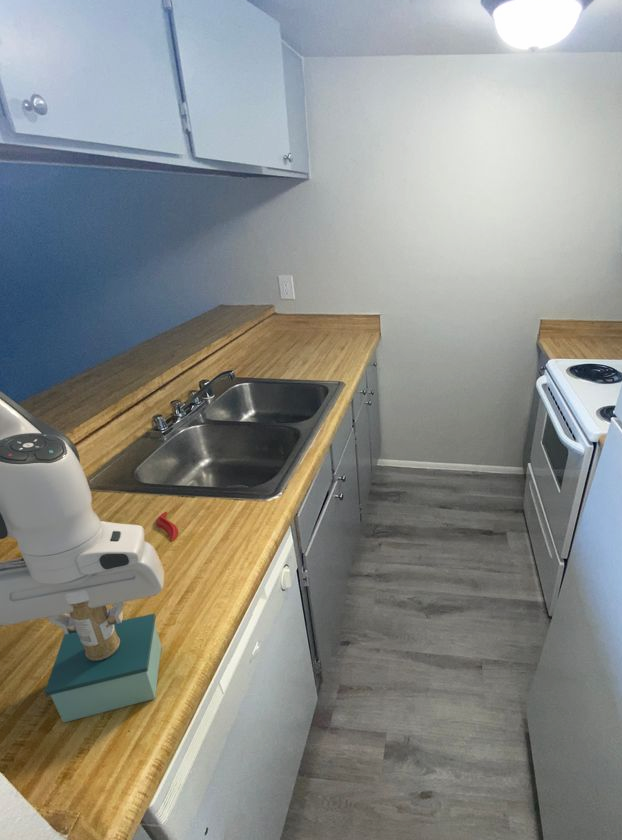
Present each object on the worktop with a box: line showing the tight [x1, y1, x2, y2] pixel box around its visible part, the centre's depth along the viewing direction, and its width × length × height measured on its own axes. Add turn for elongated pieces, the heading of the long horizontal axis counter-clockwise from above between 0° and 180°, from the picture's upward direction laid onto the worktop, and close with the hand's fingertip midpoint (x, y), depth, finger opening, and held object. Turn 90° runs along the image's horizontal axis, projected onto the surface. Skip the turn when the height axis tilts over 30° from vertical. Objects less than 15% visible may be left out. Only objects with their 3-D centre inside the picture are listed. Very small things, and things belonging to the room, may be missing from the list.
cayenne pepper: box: [155, 511, 179, 542], centre depth 108 cm, size 12×5×2 cm, turn 24°
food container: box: [44, 613, 162, 723], centre depth 72 cm, size 13×11×7 cm
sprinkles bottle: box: [65, 591, 120, 661], centre depth 68 cm, size 5×5×13 cm
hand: (95, 625), depth 68 cm, fingers closed on sprinkles bottle, 4 cm apart
